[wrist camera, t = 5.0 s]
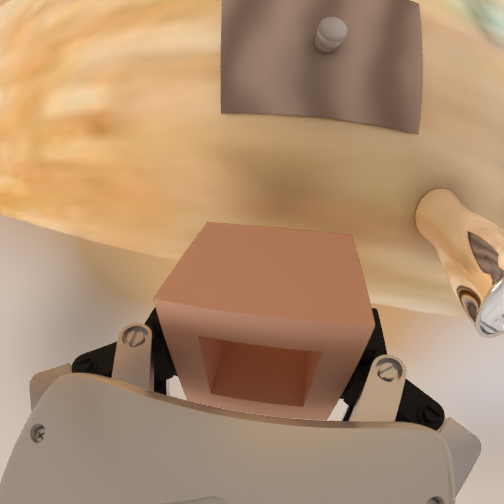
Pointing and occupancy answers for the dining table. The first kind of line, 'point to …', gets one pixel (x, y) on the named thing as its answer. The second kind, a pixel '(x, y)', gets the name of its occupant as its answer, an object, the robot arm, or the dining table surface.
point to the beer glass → (467, 257)
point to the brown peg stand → (324, 60)
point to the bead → (266, 319)
